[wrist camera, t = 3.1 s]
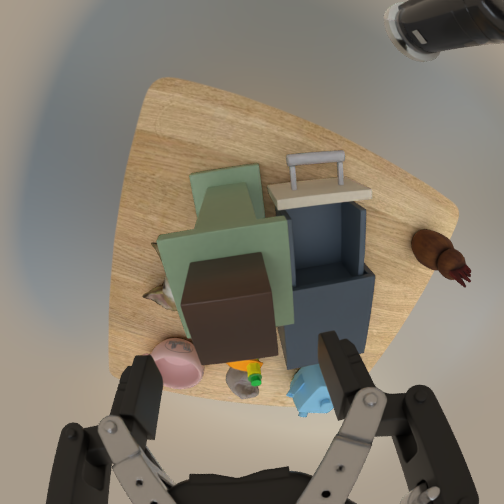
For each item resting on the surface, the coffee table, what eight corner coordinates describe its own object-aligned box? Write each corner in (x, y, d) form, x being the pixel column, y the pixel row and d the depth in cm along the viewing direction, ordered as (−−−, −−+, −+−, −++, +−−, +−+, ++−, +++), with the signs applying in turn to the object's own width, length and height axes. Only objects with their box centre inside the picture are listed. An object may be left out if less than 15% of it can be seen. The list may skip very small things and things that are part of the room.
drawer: (263, 153, 35) (272, 160, 28) (345, 146, 35) (371, 152, 28) (276, 273, 43) (286, 303, 36) (347, 261, 43) (367, 287, 36)
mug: (205, 333, 48) (203, 357, 42) (205, 369, 52) (204, 392, 47) (139, 327, 46) (131, 350, 41) (146, 363, 50) (141, 386, 45)
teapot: (317, 395, 59) (328, 429, 50) (264, 389, 56) (269, 427, 47) (360, 343, 53) (379, 378, 43) (302, 331, 49) (316, 372, 40)
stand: (190, 173, 36) (146, 234, 16) (257, 162, 36) (295, 211, 16) (202, 234, 40) (182, 344, 20) (265, 225, 40) (301, 327, 20)
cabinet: (270, 257, 42) (281, 293, 34) (348, 245, 43) (375, 275, 34) (277, 330, 49) (287, 370, 40) (344, 317, 49) (364, 352, 40)
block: (189, 262, 17) (179, 304, 13) (261, 251, 17) (272, 291, 13) (204, 318, 19) (201, 365, 15) (268, 309, 19) (278, 355, 15)
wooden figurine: (402, 253, 44) (452, 300, 31) (411, 222, 42) (468, 263, 28) (428, 256, 45) (477, 299, 32) (437, 227, 43) (492, 265, 29)
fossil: (226, 365, 52) (227, 406, 43) (223, 353, 50) (223, 395, 41) (256, 361, 52) (261, 402, 43) (253, 349, 50) (259, 391, 41)
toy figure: (223, 333, 48) (224, 386, 37) (229, 318, 47) (230, 371, 36) (259, 340, 49) (268, 392, 39) (266, 325, 48) (276, 378, 37)
